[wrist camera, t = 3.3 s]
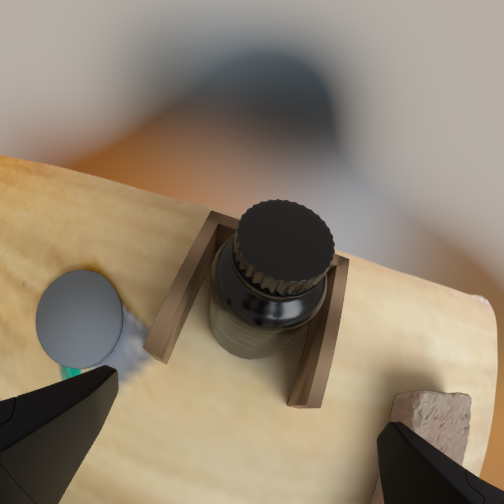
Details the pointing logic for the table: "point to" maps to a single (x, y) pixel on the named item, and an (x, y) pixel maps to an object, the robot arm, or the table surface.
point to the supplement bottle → (269, 278)
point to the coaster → (79, 319)
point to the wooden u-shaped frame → (189, 282)
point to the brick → (433, 423)
